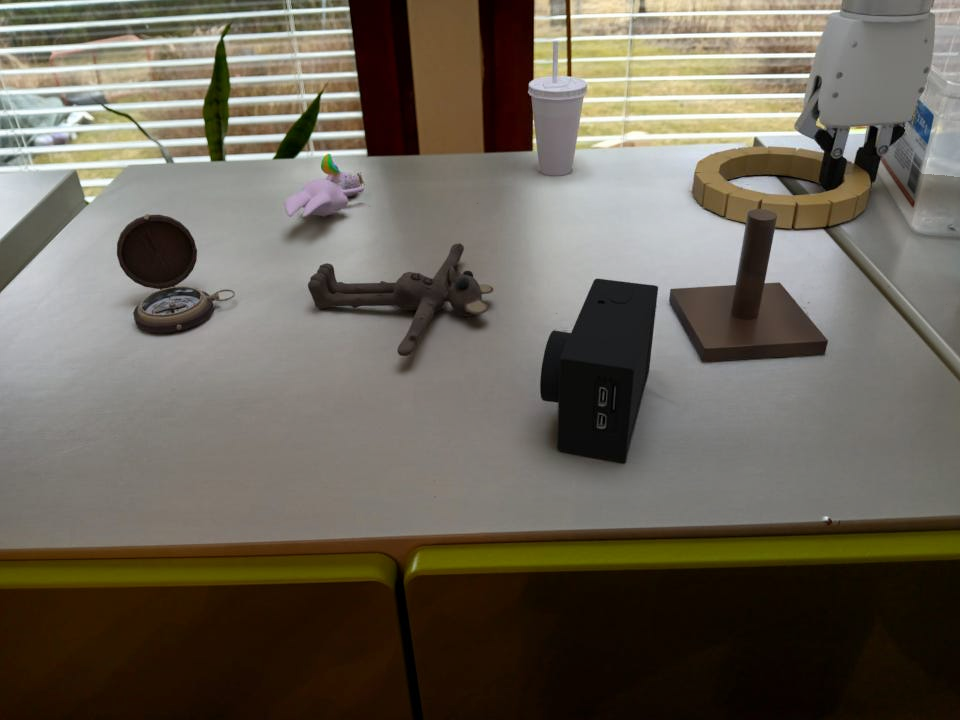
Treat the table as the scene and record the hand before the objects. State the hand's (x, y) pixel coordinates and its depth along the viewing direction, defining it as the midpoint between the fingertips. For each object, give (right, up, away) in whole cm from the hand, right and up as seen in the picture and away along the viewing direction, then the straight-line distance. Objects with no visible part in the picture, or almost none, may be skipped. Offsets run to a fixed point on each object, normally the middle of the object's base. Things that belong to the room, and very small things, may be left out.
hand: (844, 189), depth 82 cm
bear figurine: (-44, -14, -17) cm, 49 cm away
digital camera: (-30, -21, -29) cm, 47 cm away
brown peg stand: (-18, -15, -21) cm, 32 cm away
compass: (-62, -14, -16) cm, 66 cm away
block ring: (-7, -1, 0) cm, 7 cm away
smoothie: (-29, +4, +8) cm, 31 cm away
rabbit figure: (-54, -3, 0) cm, 54 cm away
